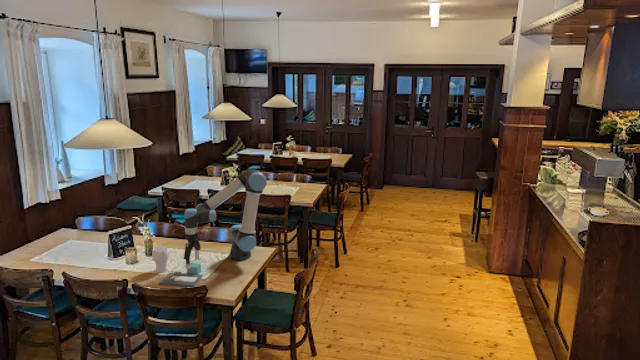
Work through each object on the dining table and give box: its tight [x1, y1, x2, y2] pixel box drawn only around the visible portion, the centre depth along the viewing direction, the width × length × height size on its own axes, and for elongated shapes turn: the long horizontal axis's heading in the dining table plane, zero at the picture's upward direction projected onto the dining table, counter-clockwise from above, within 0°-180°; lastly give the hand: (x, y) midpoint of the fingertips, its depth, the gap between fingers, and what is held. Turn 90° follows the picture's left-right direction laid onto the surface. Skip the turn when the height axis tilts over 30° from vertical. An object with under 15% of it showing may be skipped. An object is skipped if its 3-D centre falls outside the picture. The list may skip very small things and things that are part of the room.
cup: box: [151, 245, 170, 274], centre depth 294 cm, size 11×11×15 cm
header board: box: [158, 269, 203, 288], centre depth 281 cm, size 22×14×5 cm, turn 82°
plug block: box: [186, 262, 202, 275], centre depth 291 cm, size 7×6×6 cm
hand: (192, 263), depth 289 cm, fingers open, 13 cm apart
